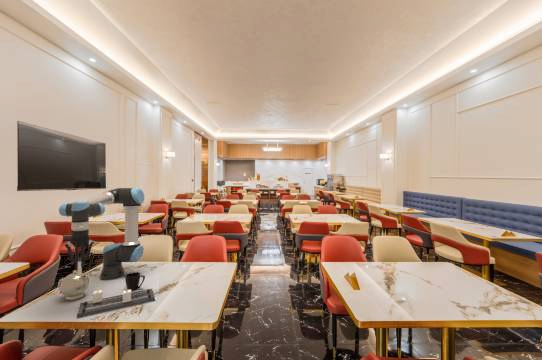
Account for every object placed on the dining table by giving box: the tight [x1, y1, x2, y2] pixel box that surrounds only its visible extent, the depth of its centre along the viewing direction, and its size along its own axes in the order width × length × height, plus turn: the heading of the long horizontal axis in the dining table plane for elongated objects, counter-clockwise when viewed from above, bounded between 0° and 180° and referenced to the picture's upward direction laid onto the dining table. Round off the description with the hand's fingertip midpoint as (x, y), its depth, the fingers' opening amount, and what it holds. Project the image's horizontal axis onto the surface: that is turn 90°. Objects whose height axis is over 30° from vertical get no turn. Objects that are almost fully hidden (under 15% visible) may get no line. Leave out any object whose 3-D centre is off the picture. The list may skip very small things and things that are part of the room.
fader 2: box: [122, 289, 132, 303], centre depth 140 cm, size 4×4×5 cm
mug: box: [124, 271, 146, 292], centre depth 161 cm, size 8×12×10 cm
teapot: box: [57, 269, 90, 301], centre depth 150 cm, size 18×14×16 cm
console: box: [76, 288, 156, 319], centre depth 142 cm, size 14×36×3 cm, turn 121°
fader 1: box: [92, 289, 103, 303], centre depth 140 cm, size 4×4×5 cm
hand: (79, 273), depth 136 cm, fingers closed
